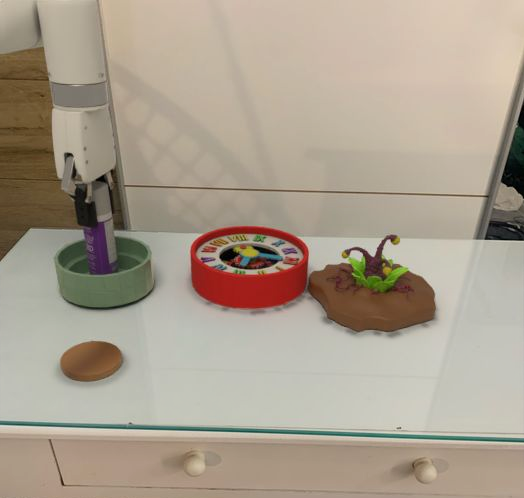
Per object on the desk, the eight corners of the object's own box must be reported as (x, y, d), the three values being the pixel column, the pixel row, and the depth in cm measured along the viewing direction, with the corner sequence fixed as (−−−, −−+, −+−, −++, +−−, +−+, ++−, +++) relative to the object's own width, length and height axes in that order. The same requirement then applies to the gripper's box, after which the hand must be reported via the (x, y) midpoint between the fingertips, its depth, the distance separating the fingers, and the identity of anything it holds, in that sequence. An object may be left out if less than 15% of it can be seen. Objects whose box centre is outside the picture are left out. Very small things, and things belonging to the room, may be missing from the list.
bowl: (42, 301, 88) (34, 267, 85) (89, 261, 100) (84, 230, 97) (129, 317, 85) (125, 282, 82) (168, 274, 98) (165, 242, 94)
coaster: (49, 375, 73) (47, 369, 73) (80, 342, 79) (79, 336, 79) (104, 386, 72) (103, 380, 71) (132, 352, 78) (131, 346, 77)
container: (84, 278, 92) (70, 188, 83) (98, 265, 95) (86, 179, 87) (111, 282, 91) (99, 192, 82) (123, 269, 95) (113, 182, 86)
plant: (456, 323, 87) (474, 258, 81) (341, 338, 83) (351, 271, 76) (397, 267, 103) (408, 208, 97) (298, 277, 98) (302, 217, 92)
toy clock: (211, 220, 103) (317, 233, 100) (211, 249, 107) (314, 263, 103) (172, 266, 87) (297, 284, 84) (174, 299, 91) (294, 317, 87)
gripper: (86, 82, 85) (101, 198, 95) (19, 103, 71) (45, 236, 81) (131, 87, 83) (141, 204, 94) (72, 109, 70) (91, 244, 80)
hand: (96, 218), depth 87 cm, fingers closed on container, 4 cm apart
